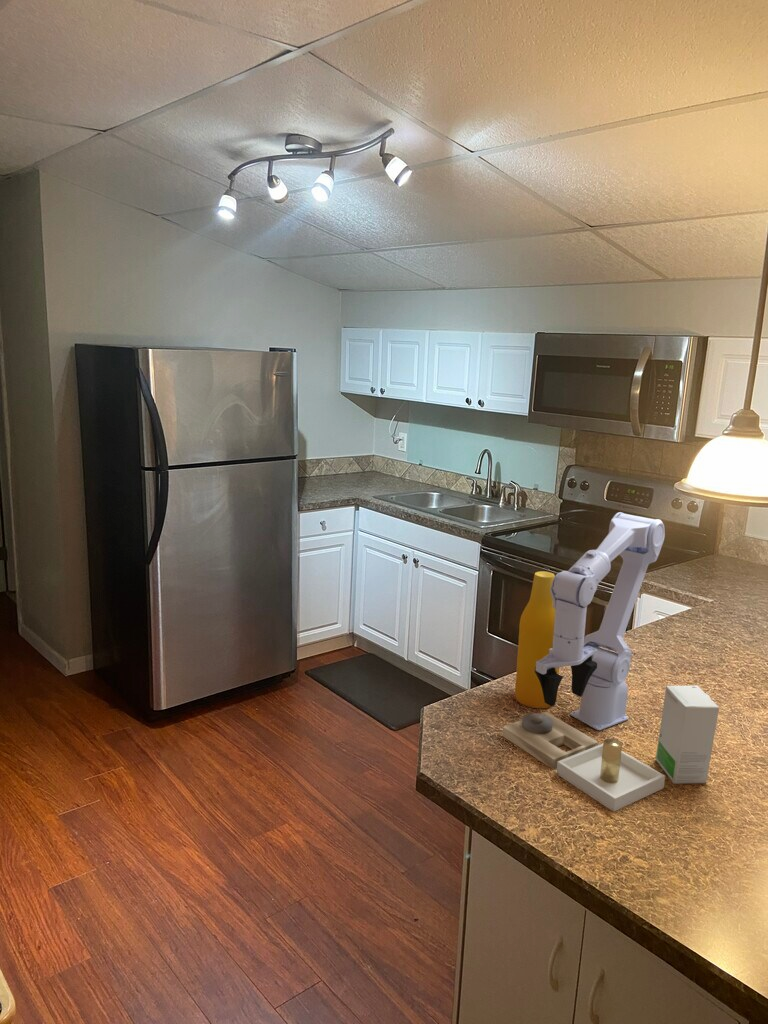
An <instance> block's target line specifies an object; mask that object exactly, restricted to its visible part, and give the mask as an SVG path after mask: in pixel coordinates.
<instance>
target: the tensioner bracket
mask: <svg viewBox="0 0 768 1024" xmlns="http://www.w3.org/2000/svg"><path fill="white" fill-rule="evenodd" d="M501 733H502V734H501V736H502V737H503V738H505V739H507V740H508V741H510V742H511V743H513V744H514V745H516V746H517V747H519V748H520V749H521V750H523V751H524V752H527V753H528V754H529V755H531V756H532V757H534V758H535V759H537V761H540V762H542V763H543V764H544V765H546V766H547V767H549V768H551V769H552V770H555V769H557V762H558V761H560V760H563V759H565V758H568V757H570V756H573V755H575V754H578V753H580V752H583V751H585V750H588V749H590V748H593V747H595V746H598V745H599V741H597V740H596V739H594V738H592V737H590V736H589V735H587V734H586V733H584V732H583V731H580V730H578V729H577V728H575V727H573V726H571V725H570V724H568V723H566V722H564V721H562V720H561V719H559V718H558V717H557V716H555V715H553V714H552V713H549V712H547V711H545V712H544V711H543V712H541V713H528V714H525V715H524V716H523V717H522V718H521V720H518V721H516V722H513V723H510V724H506V725H504V726H502V732H501ZM562 745H564V746H566V747H568V748H569V749H570V750H567V751H565V750H563V749H561V748H559V747H560V746H562Z"/></svg>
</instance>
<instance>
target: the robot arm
mask: <svg viewBox="0 0 768 1024" xmlns="http://www.w3.org/2000/svg"><path fill="white" fill-rule="evenodd" d="M665 533H666V532H665V524H664V522H663V521H662V520H661V519H658V518H656V519H655V518H649V517H644V516H639V515H634V514H628V513H624V512H621V511H620V512H616V513H615V514H614V515H613V517H612V518H611V520H610V521H609V527H608V534H607V535H606V537H604V538H603V540H602V542H600V544H599V545H598V547H597V548H596V549H589V550H586V552H585V553H583V555H582V556H580V558H579V559H578V560H577V561H576V562H575V563H574V564H573V565H572V566H571V567H570V568H569V569H568V570H563V571H561V572H557V574H556V575H555V577H554V579H553V582H552V586H551V588H550V591H551V596H552V598H553V608H554V609H555V621H554V635H553V648H551V649H549V654H548V655H547V656H545V657H544V658H543V659H541V660H539V661H536V666H535V673H536V675H537V677H538V679H539V681H540V684H541V687H542V691H543V696H544V701H545V703H546V704H548V705H550V706H551V707H555V705H556V703H557V700H556V698H557V699H558V696H557V691H558V690H559V687H560V684H561V682H562V680H563V679H564V676H562V675H561V674H559V675H558V674H557V671H555V669H556V668H559V669H560V668H562V667H570V669H571V692H572V694H573V695H575V696H577V697H579V698H580V701H579V704H580V705H579V709H577V710H573V711H570V716H571V717H574V718H575V719H577V720H578V721H580V722H582V723H583V724H585V725H588V726H589V727H591V728H592V729H594V730H597V731H602V730H604V729H607V728H609V727H613V726H615V725H617V724H620V723H623V722H626V721H628V720H629V716H627V713H626V712H627V705H628V703H627V702H628V695H629V690H628V689H629V688H628V684H627V682H626V679H627V677H628V675H629V672H630V668H631V667H630V666H631V665H630V663H631V660H632V655H633V654H632V651H631V648H630V647H629V645H628V644H627V642H626V641H625V640H624V637H625V633H626V629H627V628H628V624H629V622H630V619H631V616H632V612H633V610H634V607H635V605H636V601H637V598H638V596H639V593H640V590H641V588H642V584H643V581H644V578H645V577H646V572H647V570H648V567H649V565H650V564H653V563H655V562H656V561H657V560H658V558H659V555H660V552H661V549H662V548H663V547H662V546H663V544H664V541H665V537H666V535H665ZM619 556H620V557H621V559H622V565H621V568H620V570H619V572H618V575H617V579H616V582H615V584H614V586H613V588H612V589H613V590H612V593H611V595H610V599H609V602H608V603H607V607H606V610H605V612H604V615H603V618H602V621H601V623H600V626H599V629H598V630H597V631H594V632H592V633H589V634H587V635H585V633H586V632H585V631H586V624H587V623H586V621H587V611H588V610H587V609H588V605H590V604H591V602H592V601H593V599H594V595H595V593H596V591H597V589H598V585H599V584H600V582H601V581H602V580H603V579H604V578H605V577H606V576H607V575H608V573H610V571H611V568H612V567H611V566H612V565H611V562H612V561H613V560H615V559H616V558H617V557H619ZM558 692H559V691H558Z"/></svg>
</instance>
